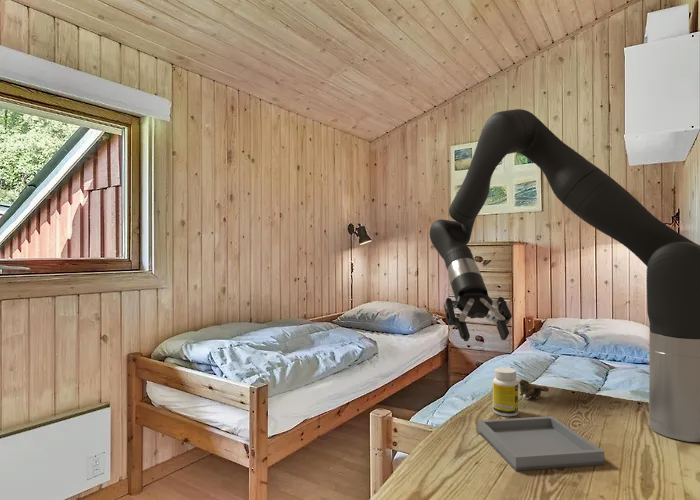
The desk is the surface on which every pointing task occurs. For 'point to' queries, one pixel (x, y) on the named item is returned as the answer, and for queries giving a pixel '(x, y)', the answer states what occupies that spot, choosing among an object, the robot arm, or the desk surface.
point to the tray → (539, 443)
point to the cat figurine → (531, 390)
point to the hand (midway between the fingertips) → (486, 338)
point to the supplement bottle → (505, 392)
